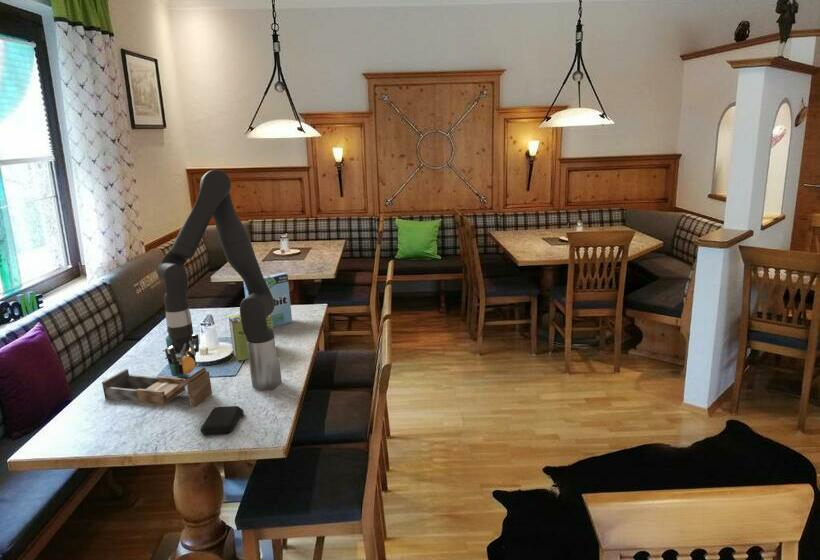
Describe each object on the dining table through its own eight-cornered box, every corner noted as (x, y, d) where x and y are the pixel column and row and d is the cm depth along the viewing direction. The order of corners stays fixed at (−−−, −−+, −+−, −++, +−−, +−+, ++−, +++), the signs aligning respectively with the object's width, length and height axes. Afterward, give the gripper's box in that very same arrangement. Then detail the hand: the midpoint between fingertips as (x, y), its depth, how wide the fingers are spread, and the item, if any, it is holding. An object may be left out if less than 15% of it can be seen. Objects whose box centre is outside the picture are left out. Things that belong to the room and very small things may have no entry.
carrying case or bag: (235, 435, 171) (247, 412, 185) (234, 426, 170) (246, 403, 184) (199, 438, 171) (213, 413, 185) (197, 428, 170) (212, 405, 184)
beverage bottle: (184, 381, 209) (176, 328, 204) (167, 380, 210) (159, 328, 205) (194, 373, 215) (186, 322, 210) (178, 372, 217) (170, 322, 211)
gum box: (252, 332, 257) (246, 282, 251) (248, 329, 261) (242, 280, 255) (292, 322, 268) (288, 274, 262) (288, 319, 272) (283, 272, 266)
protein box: (276, 353, 231) (272, 316, 227) (237, 361, 225) (232, 323, 221) (270, 345, 241) (266, 309, 236) (232, 352, 234) (227, 316, 230)
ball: (184, 368, 196) (182, 352, 195) (200, 370, 195) (197, 353, 193) (173, 376, 191) (170, 359, 189) (188, 377, 189) (186, 360, 187)
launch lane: (214, 393, 198) (210, 366, 196) (194, 408, 188) (189, 379, 186) (128, 384, 208) (123, 358, 206) (105, 398, 198) (99, 371, 196)
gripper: (183, 314, 196) (190, 361, 200) (154, 329, 182) (162, 378, 187) (202, 316, 193) (209, 362, 198) (174, 330, 180) (181, 380, 185)
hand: (186, 370), depth 192 cm, fingers closed on ball, 6 cm apart
